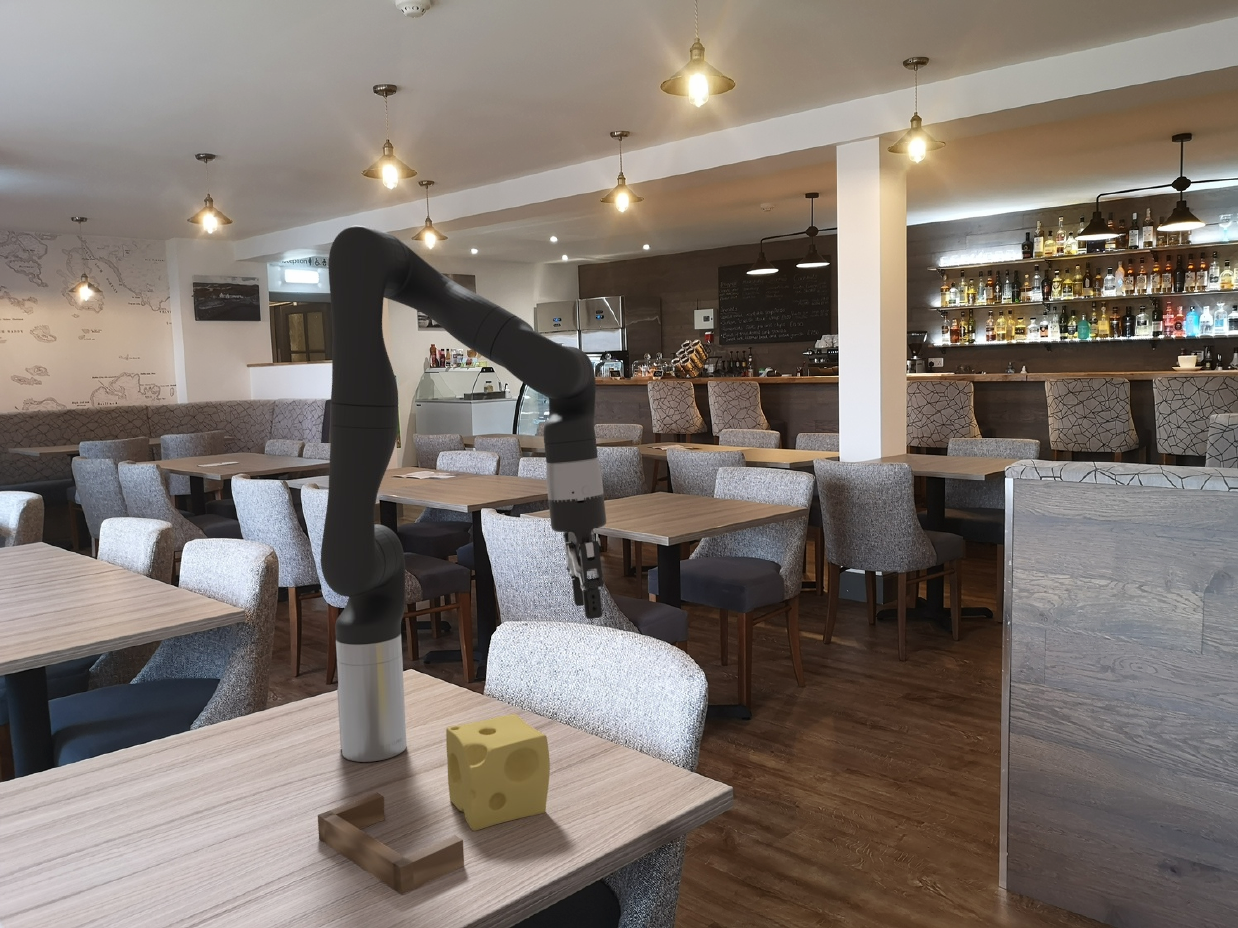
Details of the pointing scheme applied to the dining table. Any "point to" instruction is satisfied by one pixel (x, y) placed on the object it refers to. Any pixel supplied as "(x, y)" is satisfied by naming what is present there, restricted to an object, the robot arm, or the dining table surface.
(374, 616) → the robot arm
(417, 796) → the dining table surface
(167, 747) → the dining table surface
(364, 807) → the walnut cradle
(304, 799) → the dining table surface
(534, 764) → the cheese
